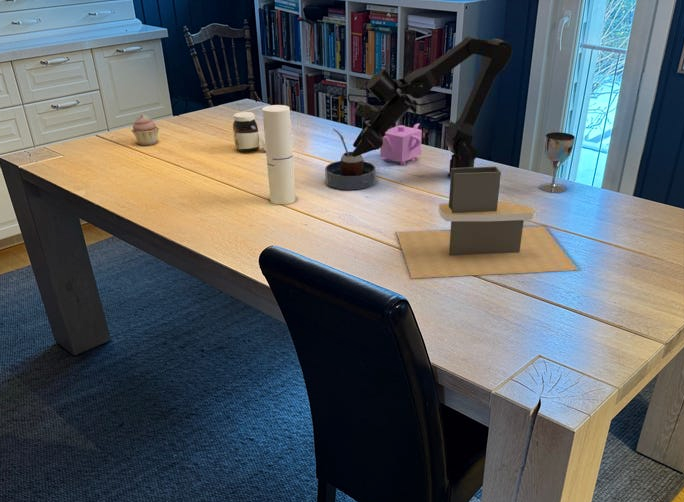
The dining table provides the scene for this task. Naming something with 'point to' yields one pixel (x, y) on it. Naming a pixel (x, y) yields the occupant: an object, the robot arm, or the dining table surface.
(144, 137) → the cupcake
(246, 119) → the spread jar
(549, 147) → the metal goblet
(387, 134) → the teapot
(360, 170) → the mate gourd
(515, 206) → the architectural model
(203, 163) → the dining table surface
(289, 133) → the cylindrical container
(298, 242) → the dining table surface
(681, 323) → the dining table surface
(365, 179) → the large metal bowl
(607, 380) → the dining table surface
